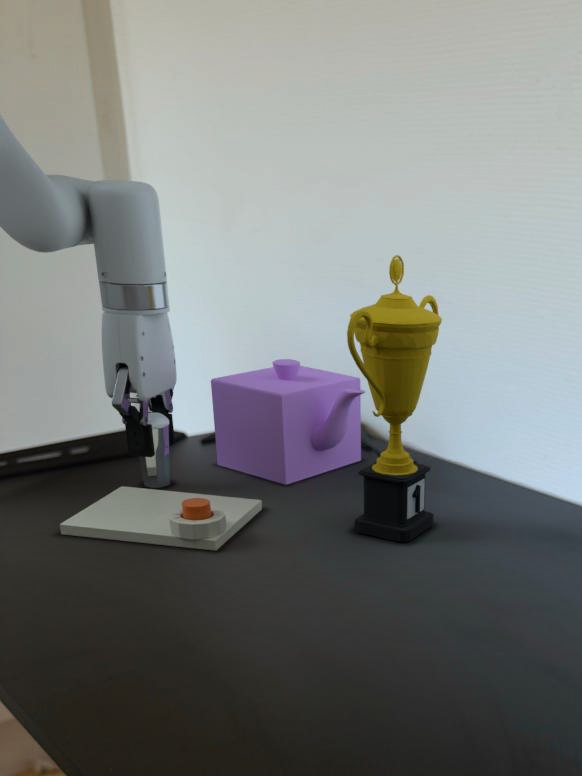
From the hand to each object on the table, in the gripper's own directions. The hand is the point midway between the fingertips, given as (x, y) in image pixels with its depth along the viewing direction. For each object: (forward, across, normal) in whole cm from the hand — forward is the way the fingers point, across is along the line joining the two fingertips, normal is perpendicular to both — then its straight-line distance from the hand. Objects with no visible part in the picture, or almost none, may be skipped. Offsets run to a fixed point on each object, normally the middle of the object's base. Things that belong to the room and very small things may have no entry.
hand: (152, 448), depth 117 cm
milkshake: (+5, 0, 0) cm, 5 cm away
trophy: (+5, +7, +33) cm, 34 cm away
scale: (+5, +12, +7) cm, 15 cm away
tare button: (+2, +17, +13) cm, 21 cm away
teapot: (+5, -14, +14) cm, 20 cm away
